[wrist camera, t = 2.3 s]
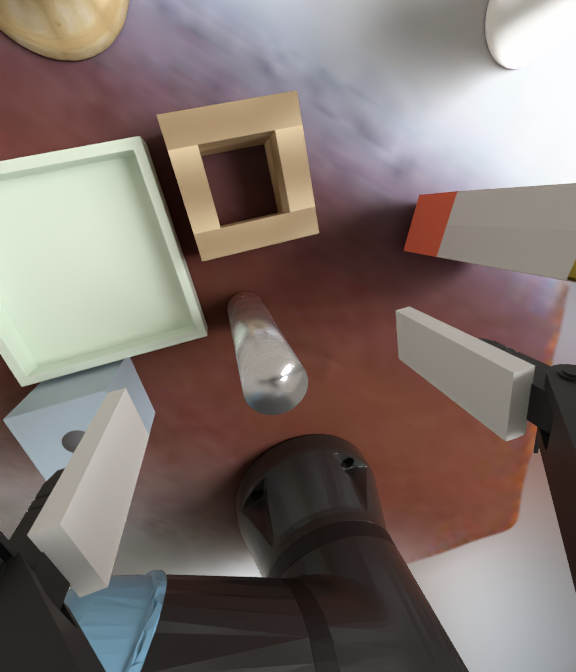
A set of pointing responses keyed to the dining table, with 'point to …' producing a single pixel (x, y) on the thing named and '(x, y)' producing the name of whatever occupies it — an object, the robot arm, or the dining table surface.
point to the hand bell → (63, 25)
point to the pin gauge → (264, 357)
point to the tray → (89, 262)
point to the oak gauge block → (236, 133)
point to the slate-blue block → (71, 411)
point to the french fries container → (501, 228)
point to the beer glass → (527, 29)
